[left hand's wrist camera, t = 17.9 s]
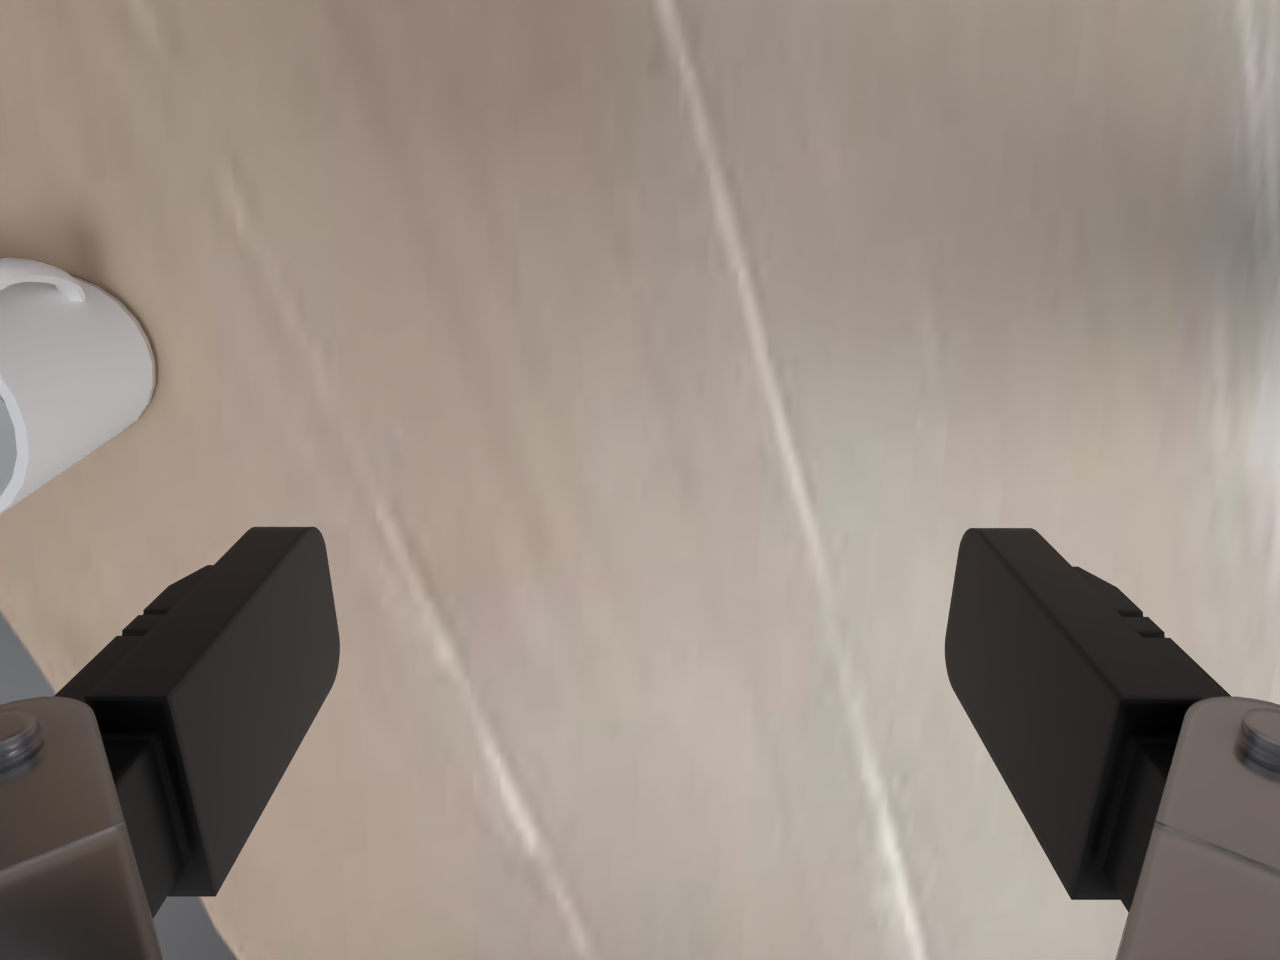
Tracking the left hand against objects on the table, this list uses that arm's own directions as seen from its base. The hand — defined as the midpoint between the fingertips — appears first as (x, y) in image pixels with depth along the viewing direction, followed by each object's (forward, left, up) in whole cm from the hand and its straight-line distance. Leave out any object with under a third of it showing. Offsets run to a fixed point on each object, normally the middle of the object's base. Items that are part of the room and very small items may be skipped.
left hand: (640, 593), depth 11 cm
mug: (+4, -27, -31) cm, 41 cm away
